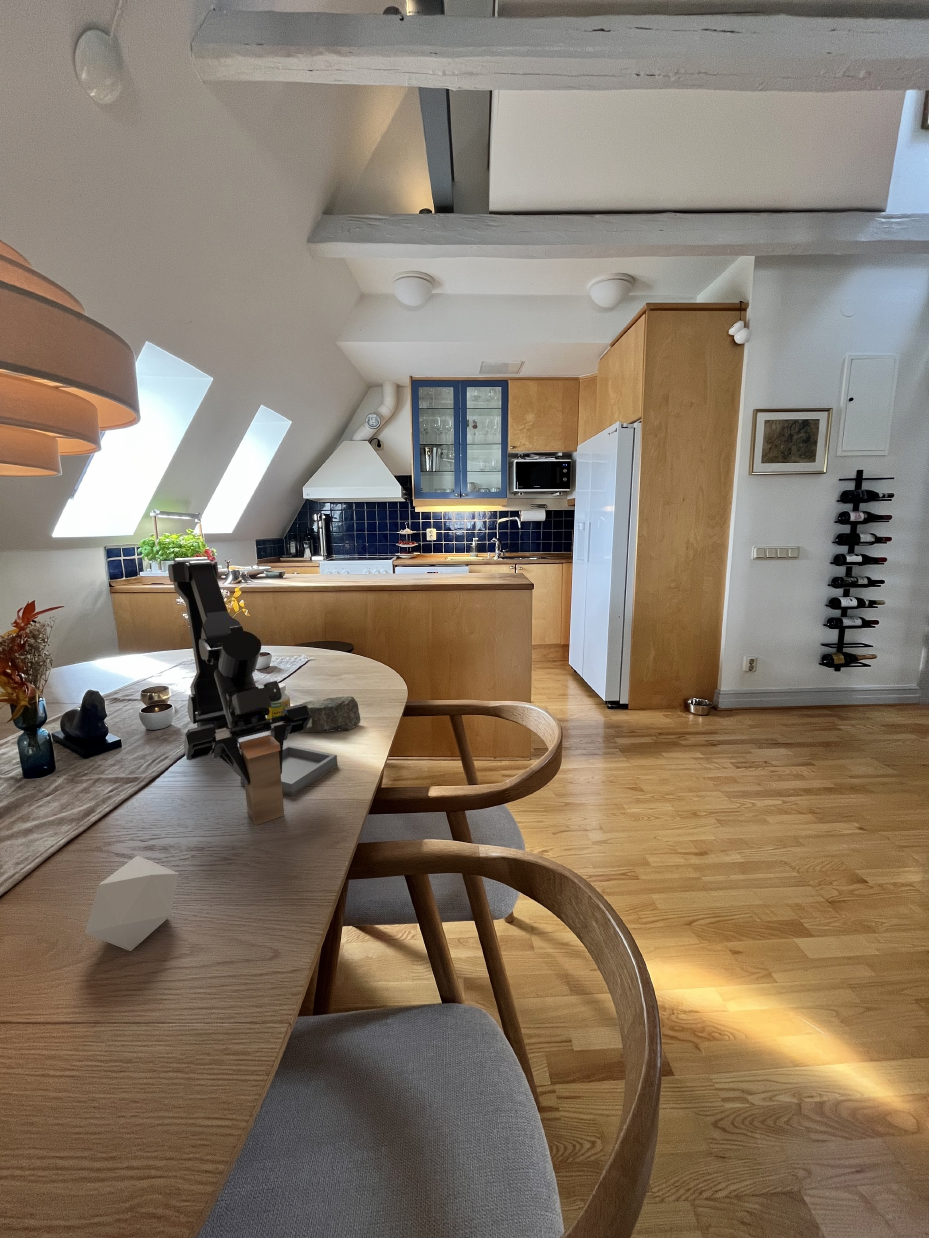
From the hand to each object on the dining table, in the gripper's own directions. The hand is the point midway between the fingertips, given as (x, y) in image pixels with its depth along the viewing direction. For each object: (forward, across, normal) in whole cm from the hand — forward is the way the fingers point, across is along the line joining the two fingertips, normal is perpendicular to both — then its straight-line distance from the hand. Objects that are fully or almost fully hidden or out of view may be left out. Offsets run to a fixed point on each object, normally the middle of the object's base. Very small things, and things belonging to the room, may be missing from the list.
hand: (264, 778), depth 80 cm
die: (+15, -19, -5) cm, 25 cm away
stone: (-15, +22, +25) cm, 36 cm away
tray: (-4, +8, +13) cm, 16 cm away
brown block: (+4, 0, +6) cm, 7 cm away
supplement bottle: (-21, +14, +31) cm, 40 cm away
